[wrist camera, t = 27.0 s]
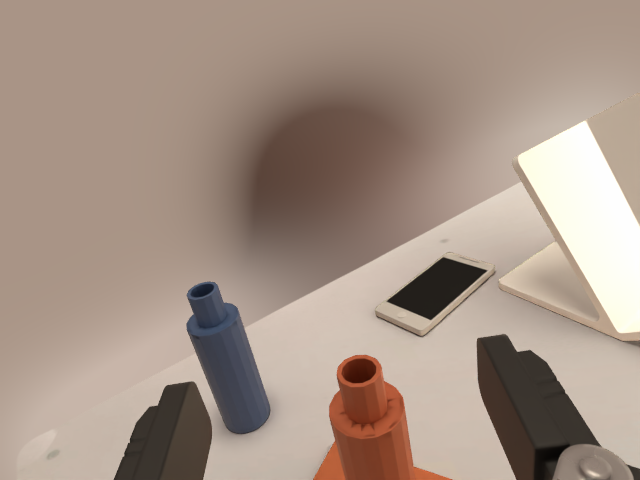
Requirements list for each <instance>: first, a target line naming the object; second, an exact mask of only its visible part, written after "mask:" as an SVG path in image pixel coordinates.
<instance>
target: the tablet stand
mask: <svg viewBox="0 0 640 480" xmlns="http://www.w3.org/2000/svg"><path fill="white" fill-rule="evenodd" d="M512 165H513V168H514V169H515V171H516V172H517V174H518V176H519V178H520V180H521V181H522V183H523V185H524V186H525V188H526V190H527V192H528V193H529V195H530V197H531V198H532V200H533V202H534V204H535V205H536V207H537V209H538V210H539V212H540V214H541V216H542V217H543V219H544V221H545V222H546V224H547V226H548V228H549V229H550V231H551V233H552V234H553V236H554V238H555V240H556V241H554V242H553V243H551V244H550V245H548V246H547V247H545V248H544V249H542V250H541V251H539V252H538V253H537V254H535V255H534V256H532V257H531V258H529V259H528V260H526V261H525V262H523V263H522V264H520V265H519V266H518V267H516V268H515V269H513V270H512V271H510V272H509V273H507V274H506V275H504V276H503V277H502V278H500V279H499V288H500V289H502V290H504V291H506V292H509V293H511V294H513V295H516V296H518V297H520V298H523V299H525V300H527V301H530V302H532V303H534V304H537V305H539V306H541V307H544V308H546V309H548V310H551V311H553V312H556V313H558V314H560V315H563V316H565V317H567V318H570V319H572V320H574V321H577V322H579V323H581V324H584V325H586V326H588V327H591V328H593V329H595V330H598V331H600V332H602V333H605V334H607V335H610V336H612V337H614V338H617V339H619V340H621V341H637V340H640V93H637V94H636V95H634V96H631V97H630V98H628V99H626V100H624V101H622V102H620V103H618V104H616V105H614V106H613V107H610V108H609V109H606V110H605V111H603V112H601V113H599V114H597V115H595V116H593V117H591V118H589V119H588V120H585V121H584V122H582V123H580V124H578V125H576V126H574V127H572V128H570V129H568V130H566V131H564V132H562V133H560V134H558V135H557V136H555V137H553V138H551V139H549V140H547V141H545V142H543V143H541V144H539V145H537V146H536V147H534V148H532V149H530V150H528V151H526V152H524V153H523V154H520V155H518V156H517V157H515V158H514V159H513V160H512Z"/></svg>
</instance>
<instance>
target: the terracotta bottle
mask: <svg viewBox="0 0 640 480" xmlns="http://www.w3.org/2000/svg"><path fill="white" fill-rule="evenodd" d="M337 379H338V384H339V388H340V391H339V392H337V393H336V394H335V396H334V398H333V400H332V402H331V404H330V406H329V417H330V421H331V425H332V429H333V433H334V437H335V441H336V445H337V449H338V453H339V457H340V461H341V465H342V469H343V472H344V476H345V480H415V474H414V467H413V460H412V453H411V447H410V440H409V433H408V427H407V420H406V413H405V407H404V401H403V397H402V395H401V394H400V393H399V391H398V390H397V389H396V388H395V387H394V386H392V385H390V384H388V383H387V382H385V381H384V379H383V373H382V367H381V365H380V363H379V362H378V361H377V359H375V358H373V357H370V356H368V355H355V356H352V357H350V358H348V359H345V360H344V361H343V362H342V363H341V364H340V365H339V366H338V370H337Z"/></svg>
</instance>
